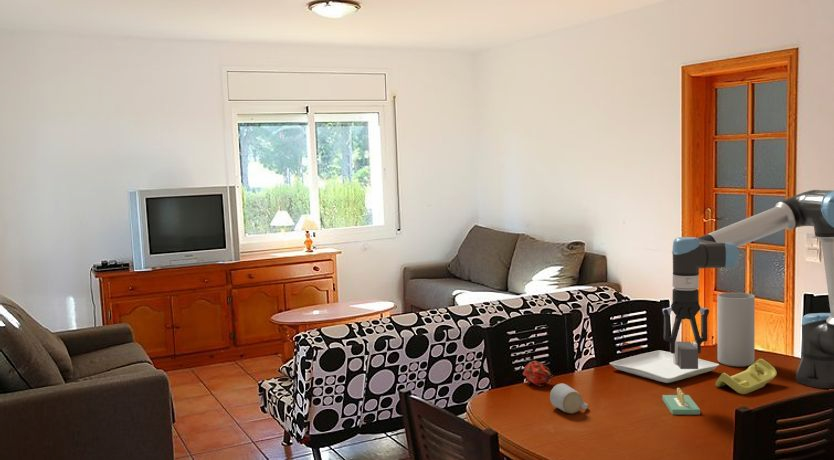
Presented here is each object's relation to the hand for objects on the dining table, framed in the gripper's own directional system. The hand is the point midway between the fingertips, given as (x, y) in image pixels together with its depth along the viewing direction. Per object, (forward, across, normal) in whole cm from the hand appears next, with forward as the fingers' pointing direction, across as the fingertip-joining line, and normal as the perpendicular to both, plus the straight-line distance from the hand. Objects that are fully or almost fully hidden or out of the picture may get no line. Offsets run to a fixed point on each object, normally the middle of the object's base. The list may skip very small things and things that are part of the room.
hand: (685, 363), depth 233 cm
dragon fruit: (+14, -43, +25) cm, 52 cm away
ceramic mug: (+14, -35, -2) cm, 38 cm away
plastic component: (+14, +25, +21) cm, 35 cm away
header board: (+14, -1, 0) cm, 14 cm away
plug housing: (0, 0, +2) cm, 2 cm away
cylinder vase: (+13, +30, +50) cm, 60 cm away
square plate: (+14, +2, +39) cm, 41 cm away
